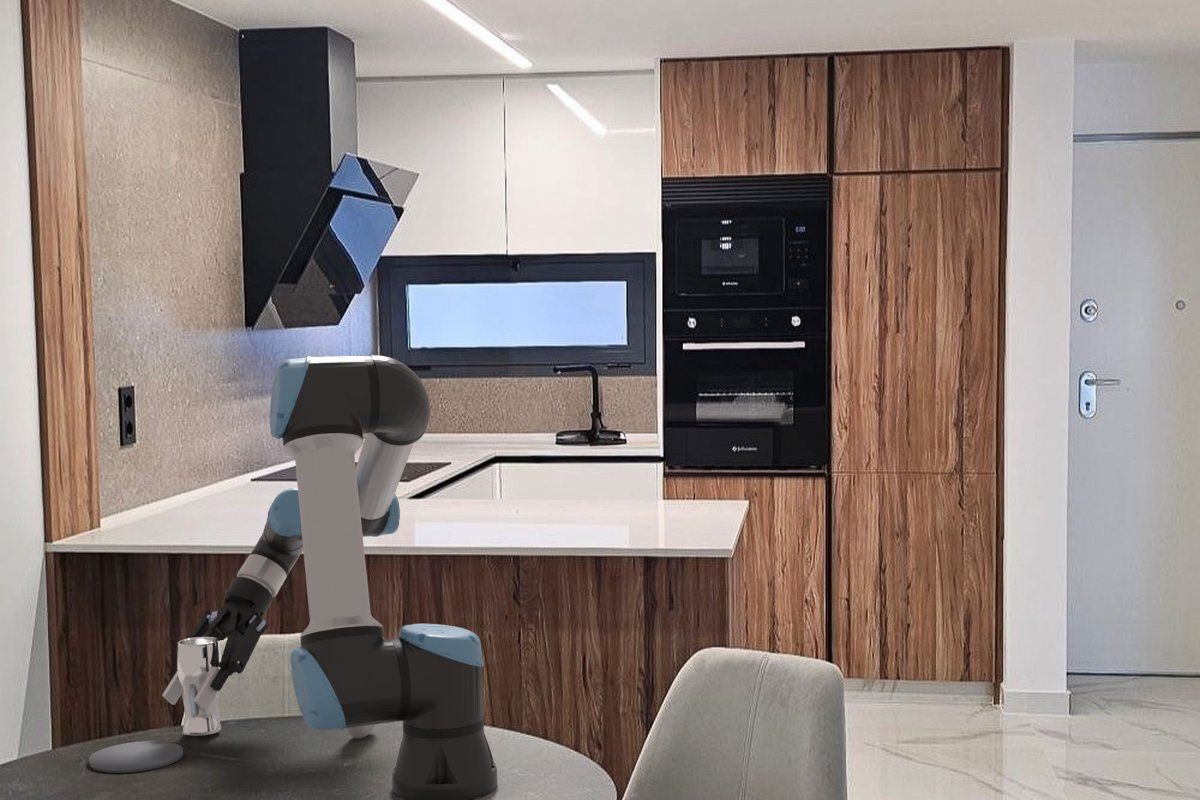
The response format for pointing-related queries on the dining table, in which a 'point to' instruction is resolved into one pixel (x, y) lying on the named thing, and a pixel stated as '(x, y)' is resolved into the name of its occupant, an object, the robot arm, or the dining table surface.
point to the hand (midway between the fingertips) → (184, 702)
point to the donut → (360, 731)
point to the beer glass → (198, 683)
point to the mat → (135, 756)
